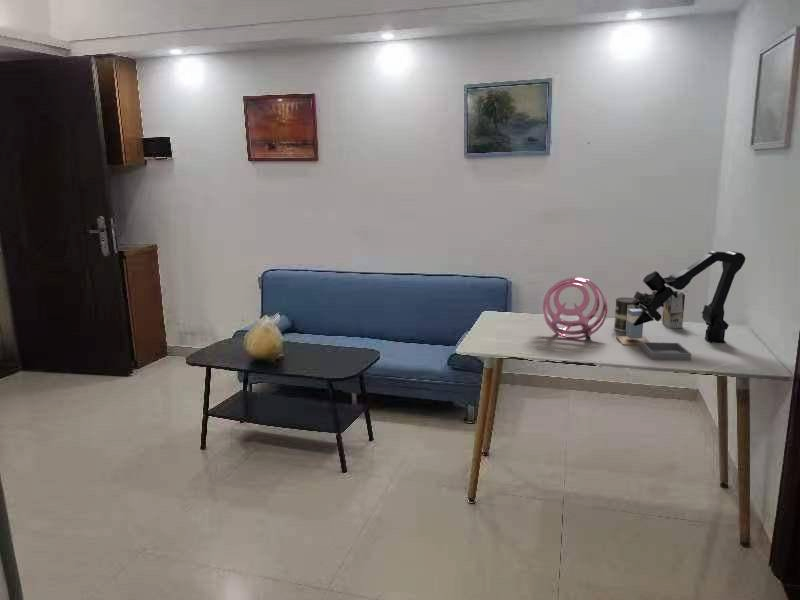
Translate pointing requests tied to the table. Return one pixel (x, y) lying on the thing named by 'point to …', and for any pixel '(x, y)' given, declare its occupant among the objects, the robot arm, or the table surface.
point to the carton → (632, 330)
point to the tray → (666, 351)
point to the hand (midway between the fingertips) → (631, 323)
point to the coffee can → (622, 312)
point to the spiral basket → (577, 311)
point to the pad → (631, 340)
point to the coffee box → (674, 311)
